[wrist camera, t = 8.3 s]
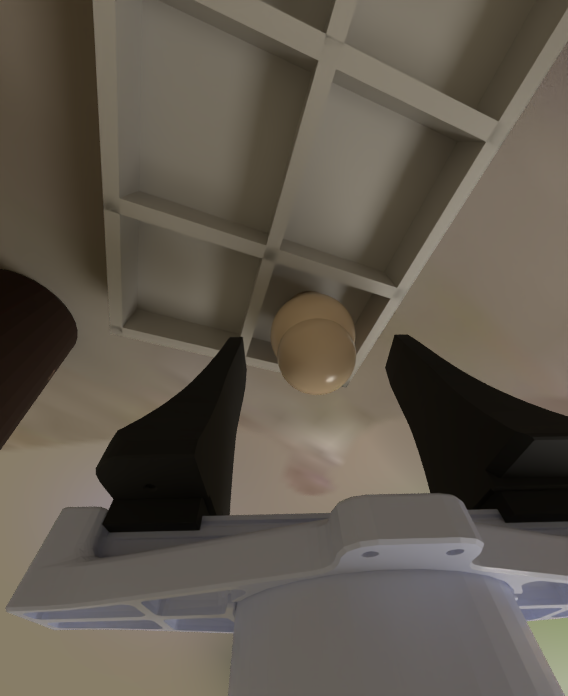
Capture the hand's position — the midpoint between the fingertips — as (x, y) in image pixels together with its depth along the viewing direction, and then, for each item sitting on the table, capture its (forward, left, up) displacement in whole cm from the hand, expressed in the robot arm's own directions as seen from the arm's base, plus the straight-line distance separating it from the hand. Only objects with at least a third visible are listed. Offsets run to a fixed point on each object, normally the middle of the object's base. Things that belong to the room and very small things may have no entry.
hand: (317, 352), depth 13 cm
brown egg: (0, 0, -4) cm, 4 cm away
